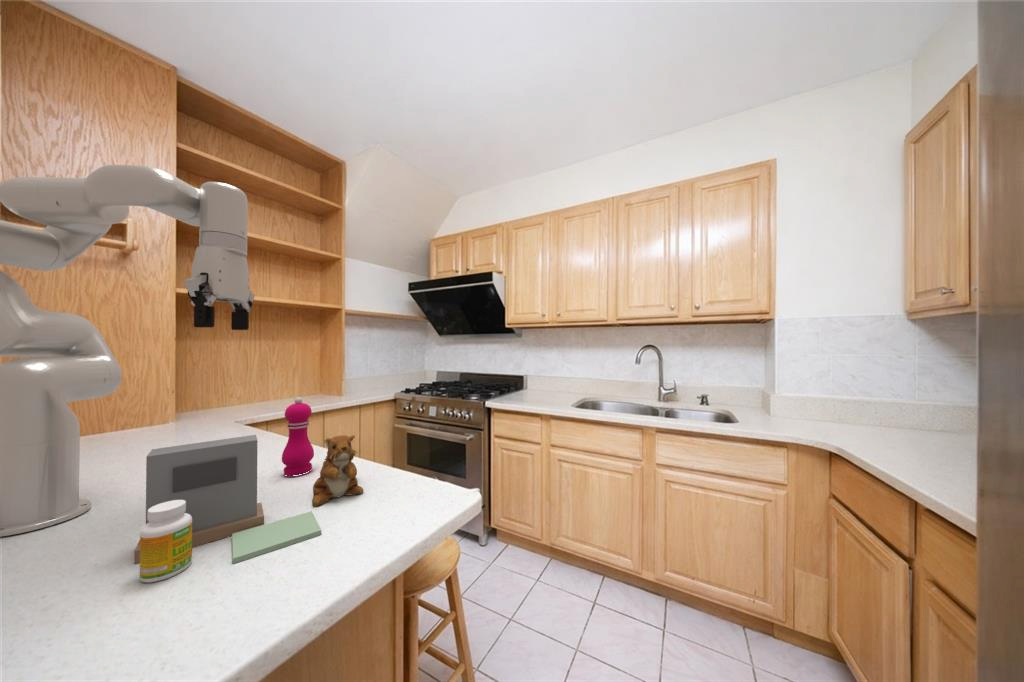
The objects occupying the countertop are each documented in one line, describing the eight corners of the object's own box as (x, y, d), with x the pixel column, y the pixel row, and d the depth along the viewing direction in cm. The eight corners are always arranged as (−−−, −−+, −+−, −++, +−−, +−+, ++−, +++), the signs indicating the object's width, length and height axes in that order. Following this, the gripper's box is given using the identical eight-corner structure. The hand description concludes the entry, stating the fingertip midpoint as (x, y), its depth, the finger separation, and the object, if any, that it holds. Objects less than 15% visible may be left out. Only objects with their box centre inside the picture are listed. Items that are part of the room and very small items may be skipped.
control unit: (134, 564, 51) (135, 459, 51) (143, 543, 56) (144, 449, 56) (264, 526, 61) (264, 440, 61) (261, 512, 67) (261, 432, 67)
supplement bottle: (176, 579, 47) (177, 511, 48) (128, 587, 46) (129, 517, 46) (200, 556, 53) (200, 495, 53) (157, 563, 51) (158, 499, 51)
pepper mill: (291, 468, 91) (291, 395, 91) (318, 467, 92) (319, 394, 92) (275, 478, 84) (275, 399, 84) (305, 477, 84) (305, 399, 85)
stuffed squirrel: (312, 509, 68) (312, 445, 68) (310, 485, 80) (310, 430, 80) (365, 497, 73) (365, 437, 73) (355, 476, 85) (355, 425, 85)
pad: (232, 563, 51) (232, 558, 51) (232, 538, 58) (232, 533, 58) (321, 534, 59) (321, 530, 59) (311, 515, 65) (311, 511, 65)
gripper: (234, 257, 77) (233, 330, 76) (165, 231, 59) (164, 326, 59) (269, 257, 77) (268, 330, 77) (210, 232, 60) (210, 326, 60)
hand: (223, 328), depth 68 cm, fingers open, 9 cm apart
